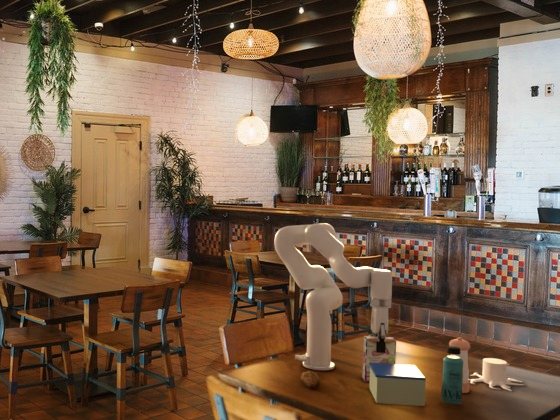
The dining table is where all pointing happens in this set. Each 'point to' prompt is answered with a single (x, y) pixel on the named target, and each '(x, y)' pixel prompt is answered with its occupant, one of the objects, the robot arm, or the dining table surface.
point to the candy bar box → (377, 354)
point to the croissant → (310, 379)
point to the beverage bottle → (452, 377)
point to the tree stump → (494, 374)
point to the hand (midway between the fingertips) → (379, 349)
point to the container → (397, 390)
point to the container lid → (396, 371)
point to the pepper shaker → (464, 349)
